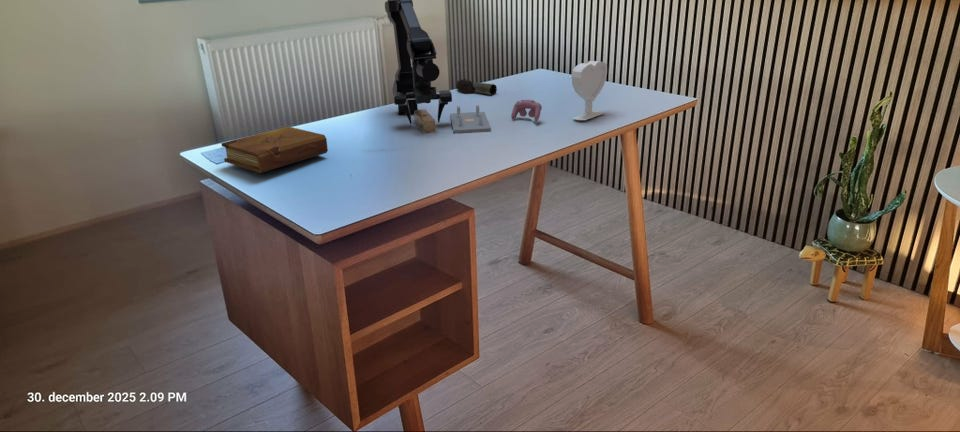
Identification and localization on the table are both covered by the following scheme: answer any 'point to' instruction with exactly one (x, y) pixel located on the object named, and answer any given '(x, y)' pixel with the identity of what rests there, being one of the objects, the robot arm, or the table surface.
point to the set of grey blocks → (476, 115)
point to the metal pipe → (475, 87)
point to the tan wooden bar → (424, 121)
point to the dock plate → (469, 123)
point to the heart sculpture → (589, 85)
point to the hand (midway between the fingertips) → (424, 123)
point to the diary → (274, 148)
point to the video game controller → (527, 104)
